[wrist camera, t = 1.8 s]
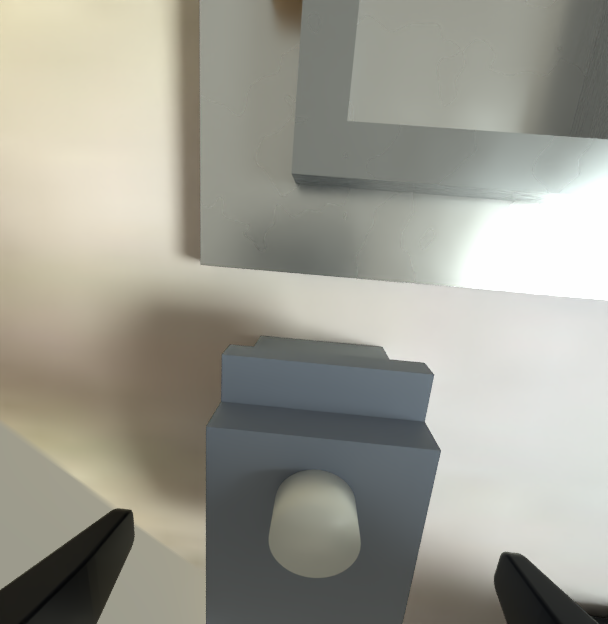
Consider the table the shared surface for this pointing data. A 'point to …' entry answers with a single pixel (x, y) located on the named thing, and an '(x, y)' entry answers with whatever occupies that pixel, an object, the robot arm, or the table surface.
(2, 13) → the table surface
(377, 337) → the table surface
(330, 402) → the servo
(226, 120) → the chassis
